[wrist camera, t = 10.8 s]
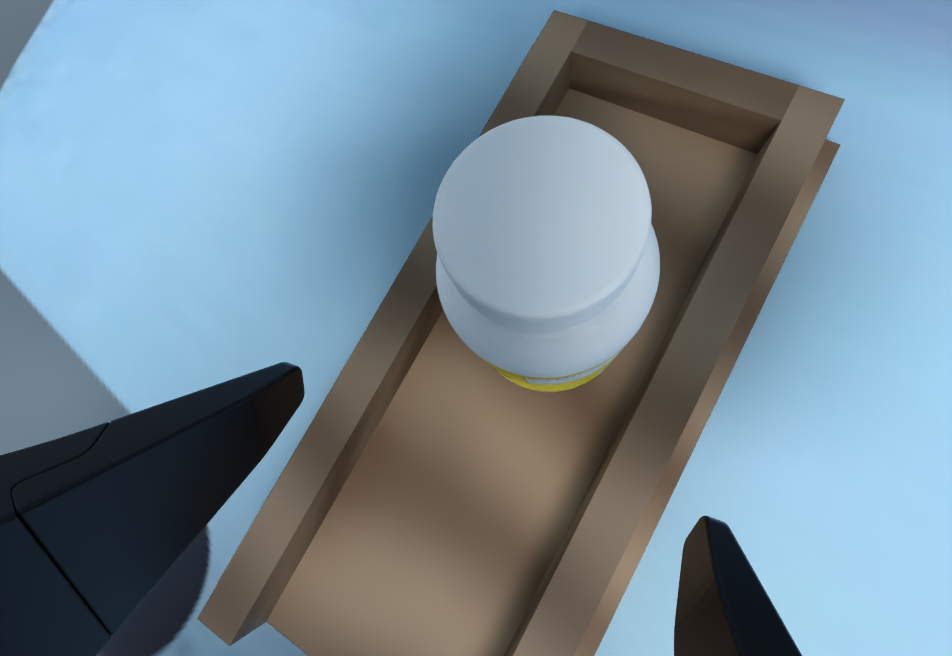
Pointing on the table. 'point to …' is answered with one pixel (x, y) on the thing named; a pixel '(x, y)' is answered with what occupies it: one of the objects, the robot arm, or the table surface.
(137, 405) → the table surface
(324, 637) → the walnut track
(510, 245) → the supplement bottle
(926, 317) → the table surface
